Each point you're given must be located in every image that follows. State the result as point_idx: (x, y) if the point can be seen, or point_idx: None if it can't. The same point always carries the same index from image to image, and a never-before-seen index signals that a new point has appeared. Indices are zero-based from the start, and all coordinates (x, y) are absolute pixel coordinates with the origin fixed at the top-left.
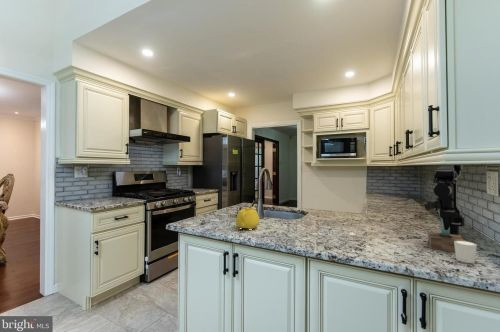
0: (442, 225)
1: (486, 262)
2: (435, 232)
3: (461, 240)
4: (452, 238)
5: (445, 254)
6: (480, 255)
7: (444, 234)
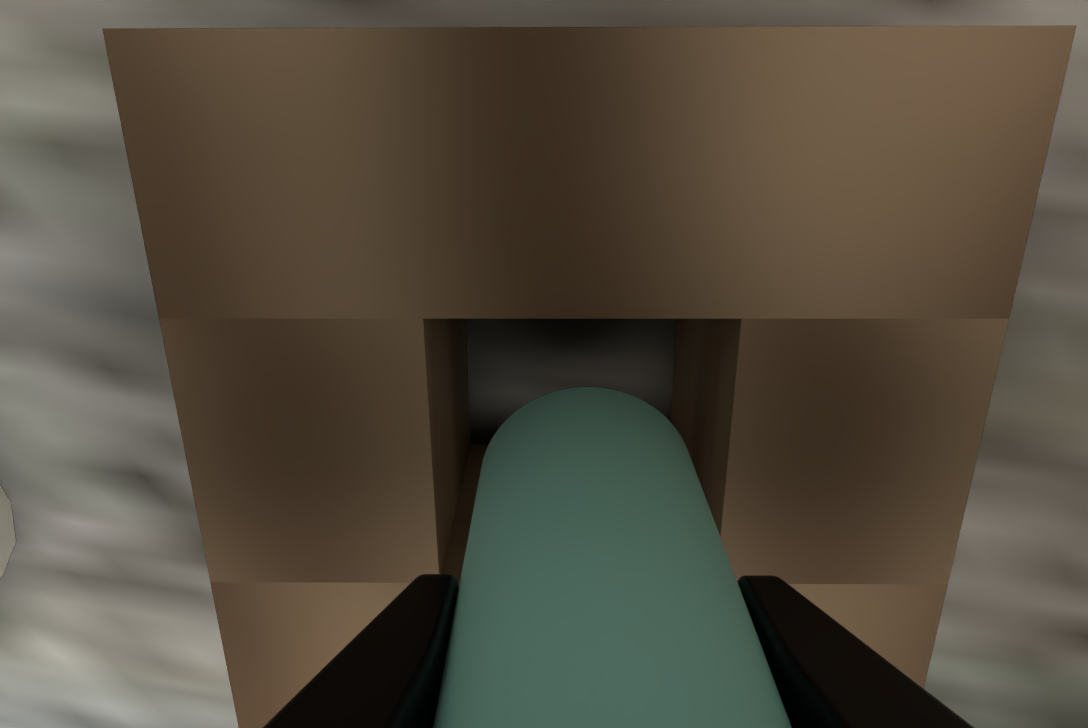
0: (486, 625)
1: (26, 719)
2: (1014, 257)
3: None
4: (413, 574)
5: (11, 276)
6: None
7: (482, 461)
